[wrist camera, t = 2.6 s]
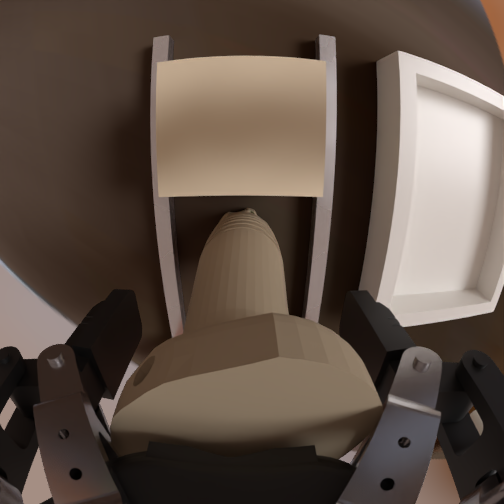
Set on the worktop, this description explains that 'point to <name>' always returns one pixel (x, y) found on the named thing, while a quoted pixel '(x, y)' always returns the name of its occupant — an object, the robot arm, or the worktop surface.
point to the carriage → (241, 126)
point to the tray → (435, 194)
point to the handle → (246, 364)
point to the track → (320, 205)
